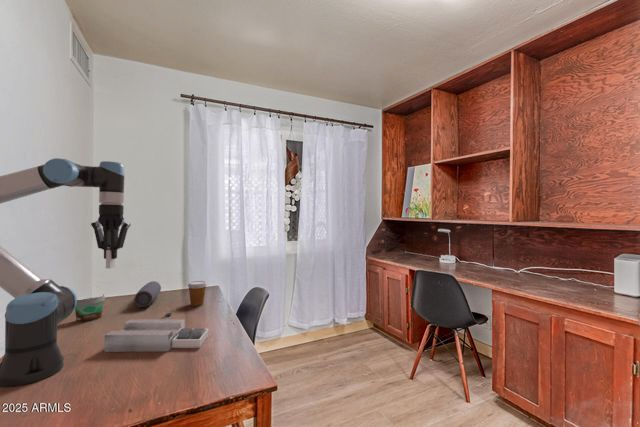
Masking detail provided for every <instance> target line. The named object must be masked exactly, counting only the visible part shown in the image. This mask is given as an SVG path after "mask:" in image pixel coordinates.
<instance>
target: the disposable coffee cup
mask: <svg viewBox="0 0 640 427" xmlns="http://www.w3.org/2000/svg"><path fill="white" fill-rule="evenodd" d="M207 285H208V284H207V282H206V281H204V280H194V281H189V283H188V284H187V286H188V292H189V302H190V306H191V307H200V306H203V305H204V301H205V300H204V299H205V295H206V294H205V293H206V289H207V288H206V286H207Z"/></svg>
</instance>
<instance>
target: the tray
mask: <svg viewBox="0 0 640 427" xmlns="http://www.w3.org/2000/svg"><path fill="white" fill-rule="evenodd" d="M193 329H194V328H192V331H193ZM204 329H205V332H204V334H203V335H202V336H201V338H200V339H181V340H178V335H177V336H176V337H175V338H174V339H173V340H172V348H171V349H200V348H201V347H202V346H203V345H204V344H205V342H206V340H207V339H208V338H209V333H210V332H209V328H204Z"/></svg>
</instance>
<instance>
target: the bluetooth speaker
mask: <svg viewBox="0 0 640 427" xmlns="http://www.w3.org/2000/svg"><path fill="white" fill-rule="evenodd" d="M161 290H162V286H161V284H160V282H158V281H156V280H155V281H154V280H153V281H152V280H151V281H149V282H147V283H146V284H145V285H143V286H142V287H141V288H140V289H139V290H138V291H137V293H135V296H134V303H135V305H137V306H138V307H140V308H144V307H147V306H151V304H152V303H153V302H155V300H156V299H157V297H158V296H159V294H160V293H161Z"/></svg>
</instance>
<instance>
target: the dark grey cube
mask: <svg viewBox="0 0 640 427" xmlns="http://www.w3.org/2000/svg"><path fill="white" fill-rule="evenodd" d="M192 329H193V331H192V332H191V339H200V338H201V336H202V335H203V334H204V332H205V329H206V328H192Z"/></svg>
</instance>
